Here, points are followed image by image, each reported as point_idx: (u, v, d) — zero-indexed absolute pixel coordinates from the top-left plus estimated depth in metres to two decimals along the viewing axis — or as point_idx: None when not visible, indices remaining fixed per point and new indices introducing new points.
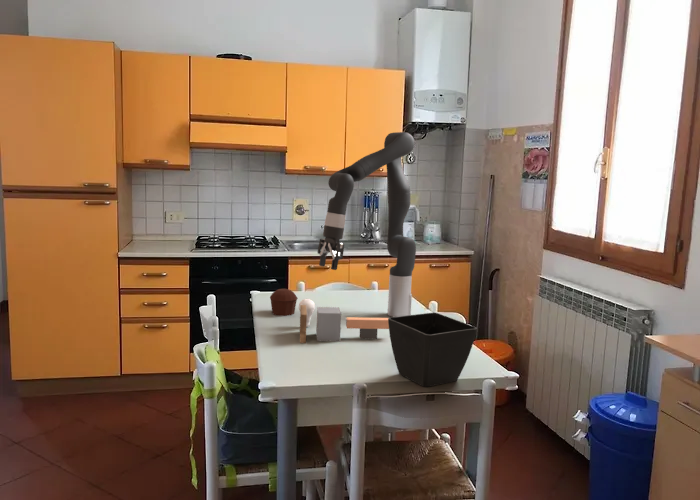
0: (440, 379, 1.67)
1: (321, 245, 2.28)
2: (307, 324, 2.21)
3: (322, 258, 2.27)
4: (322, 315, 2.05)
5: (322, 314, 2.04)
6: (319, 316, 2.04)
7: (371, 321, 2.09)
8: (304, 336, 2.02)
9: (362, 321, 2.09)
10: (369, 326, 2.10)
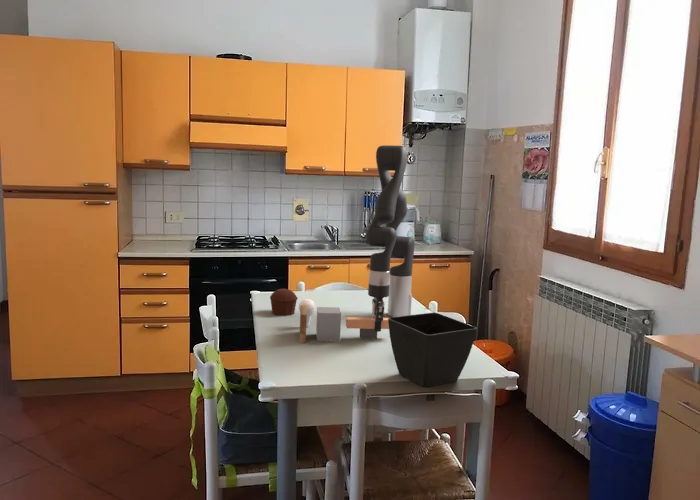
0: (440, 379, 1.67)
1: None
2: (307, 324, 2.21)
3: None
4: (322, 315, 2.05)
5: (322, 314, 2.04)
6: (319, 316, 2.04)
7: (371, 321, 2.09)
8: (304, 336, 2.02)
9: (362, 321, 2.09)
10: (369, 326, 2.10)
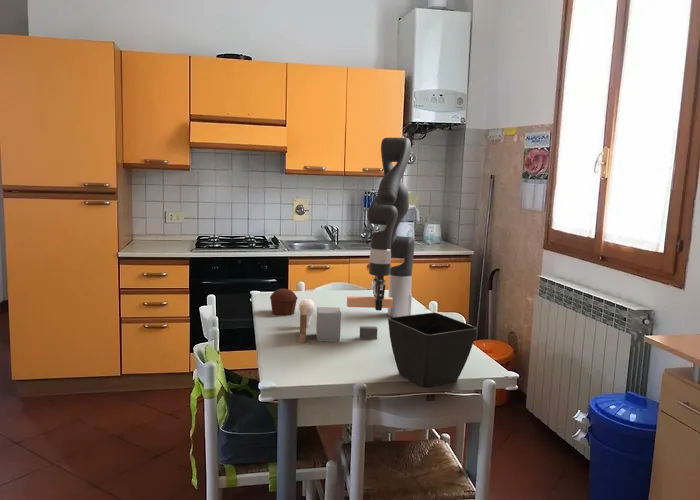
0: (440, 379, 1.67)
1: None
2: (307, 324, 2.21)
3: None
4: (322, 315, 2.05)
5: (322, 314, 2.04)
6: (319, 316, 2.04)
7: (371, 300, 2.08)
8: (304, 336, 2.02)
9: (363, 300, 2.08)
10: (370, 305, 2.08)
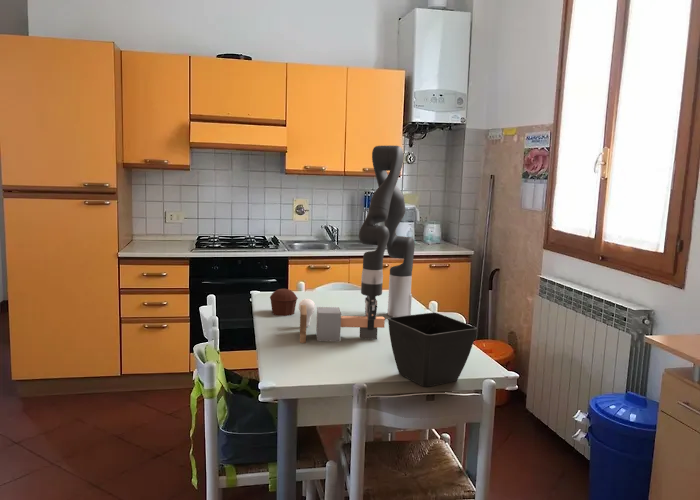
0: (440, 379, 1.67)
1: None
2: (307, 324, 2.21)
3: None
4: (322, 315, 2.05)
5: (322, 314, 2.04)
6: (319, 316, 2.04)
7: (363, 320, 2.09)
8: (304, 336, 2.02)
9: (355, 320, 2.09)
10: (362, 325, 2.09)
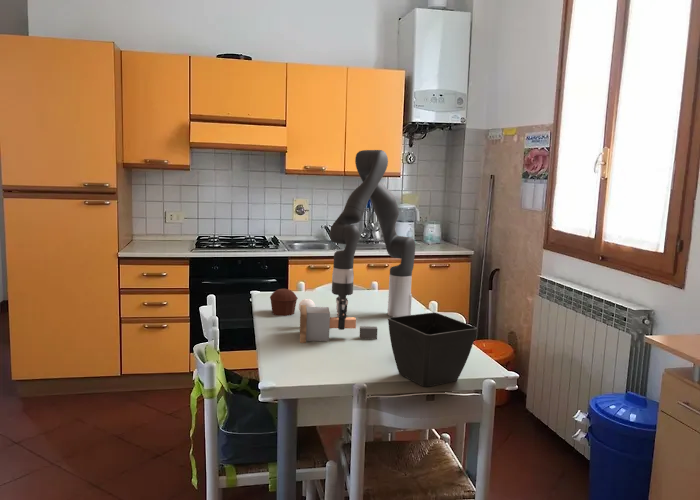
0: (440, 379, 1.67)
1: None
2: None
3: None
4: (311, 315, 2.04)
5: (311, 314, 2.04)
6: (308, 316, 2.04)
7: (334, 321, 2.08)
8: (304, 336, 2.02)
9: None
10: (333, 326, 2.08)
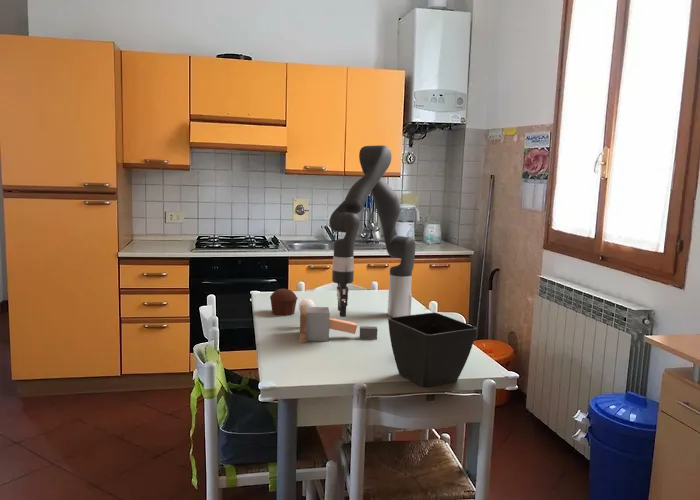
0: (440, 379, 1.67)
1: None
2: None
3: (339, 302, 2.13)
4: (311, 315, 2.04)
5: (311, 314, 2.04)
6: (307, 316, 2.04)
7: (336, 323, 2.08)
8: (304, 336, 2.02)
9: None
10: (333, 327, 2.08)
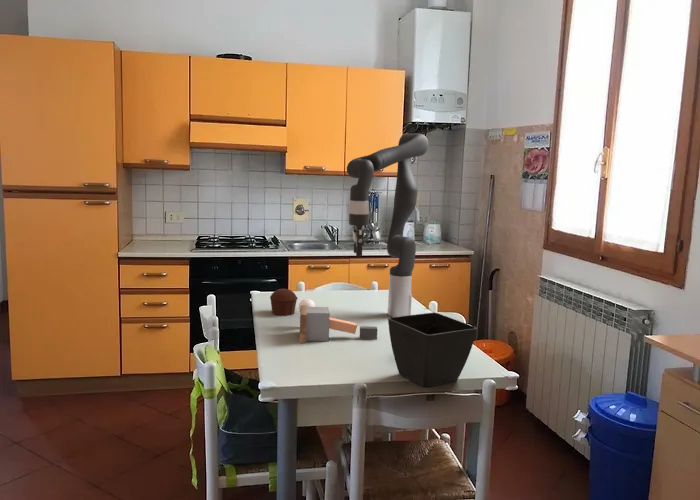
0: (440, 379, 1.67)
1: None
2: None
3: (355, 245, 2.30)
4: (311, 315, 2.04)
5: (311, 314, 2.04)
6: (307, 316, 2.04)
7: (336, 323, 2.08)
8: (304, 336, 2.02)
9: None
10: (333, 327, 2.08)
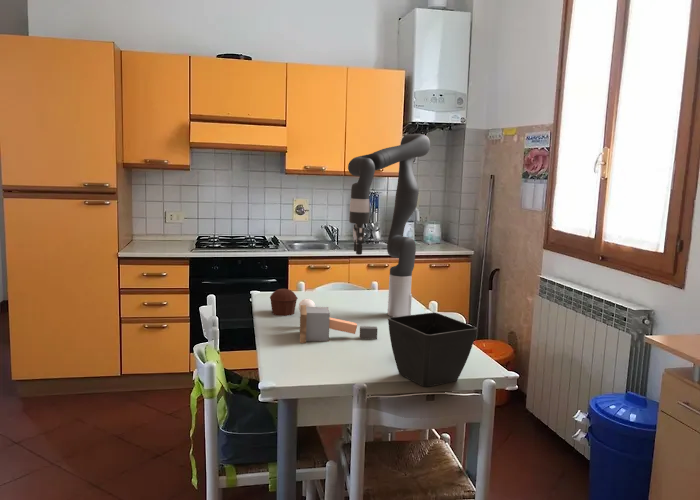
0: (440, 379, 1.67)
1: None
2: None
3: (355, 243, 2.30)
4: (311, 315, 2.04)
5: (311, 314, 2.04)
6: (307, 316, 2.04)
7: (336, 323, 2.08)
8: (304, 336, 2.02)
9: None
10: (333, 327, 2.08)
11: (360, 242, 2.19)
